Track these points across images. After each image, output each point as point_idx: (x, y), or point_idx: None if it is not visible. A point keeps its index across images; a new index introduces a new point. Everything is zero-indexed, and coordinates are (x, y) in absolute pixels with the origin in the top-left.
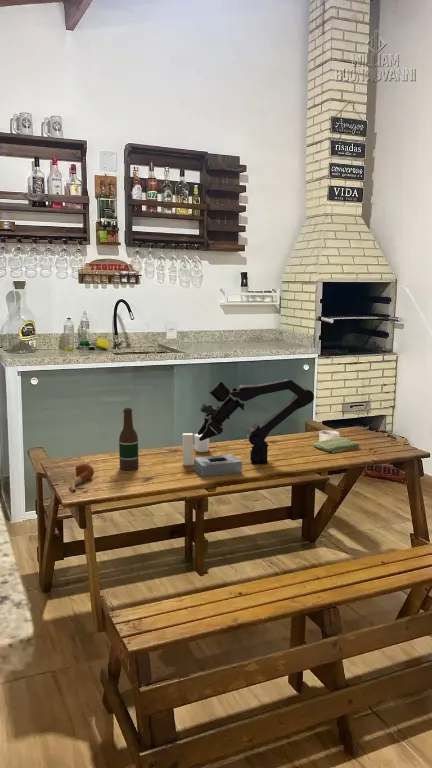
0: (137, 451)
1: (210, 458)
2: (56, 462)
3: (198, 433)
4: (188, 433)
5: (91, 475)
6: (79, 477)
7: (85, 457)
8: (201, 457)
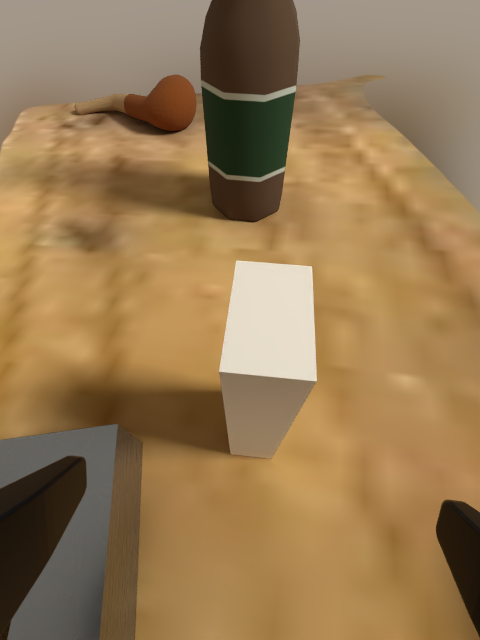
0: (224, 147)
1: (26, 596)
2: (331, 93)
3: (453, 522)
4: (306, 327)
5: (147, 117)
6: (124, 97)
7: (379, 127)
8: (103, 497)
